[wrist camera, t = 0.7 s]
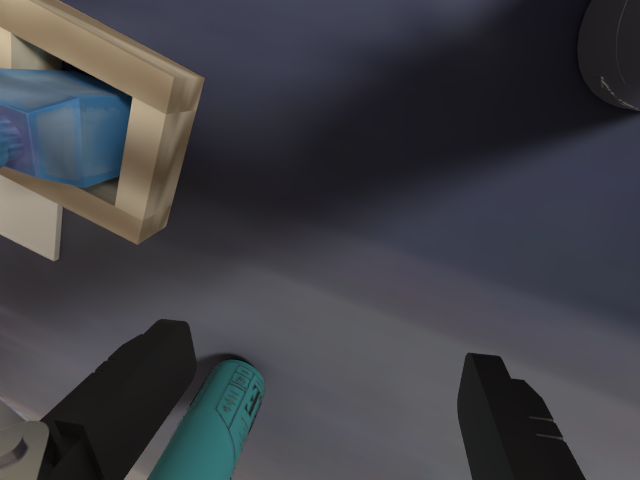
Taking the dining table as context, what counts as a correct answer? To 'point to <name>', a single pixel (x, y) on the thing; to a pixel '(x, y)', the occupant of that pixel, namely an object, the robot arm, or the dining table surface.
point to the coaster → (30, 219)
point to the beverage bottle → (213, 426)
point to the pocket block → (144, 121)
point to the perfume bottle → (62, 126)
